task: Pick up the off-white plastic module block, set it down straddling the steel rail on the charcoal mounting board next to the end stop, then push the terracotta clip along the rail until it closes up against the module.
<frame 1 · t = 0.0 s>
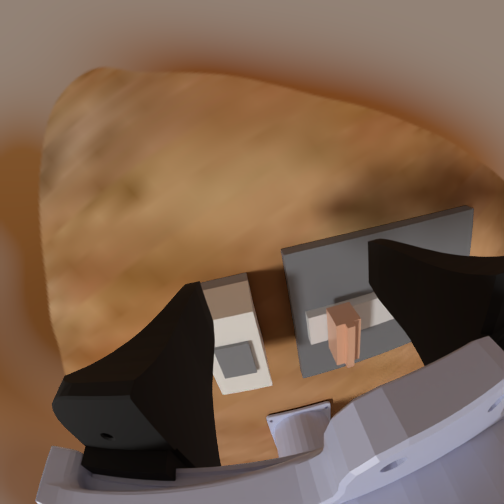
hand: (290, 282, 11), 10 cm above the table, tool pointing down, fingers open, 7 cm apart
module: (232, 314, 24), on the table
rail board: (390, 291, 25), on the table
rail clip: (344, 336, 21), point 4 cm above the table, slide at 0.0 cm
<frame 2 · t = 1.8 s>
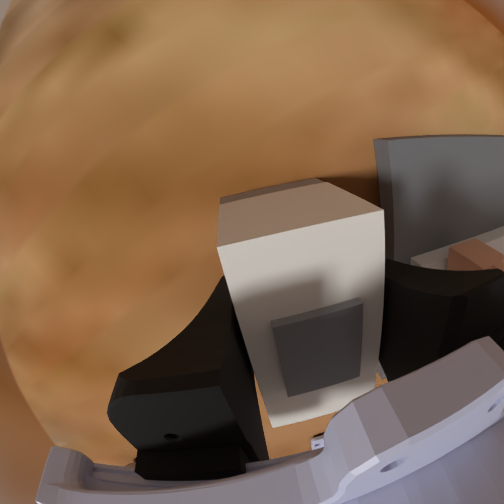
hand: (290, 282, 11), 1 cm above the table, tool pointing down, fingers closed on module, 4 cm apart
module: (283, 267, 13), on the table, touching gripper
rail board: (494, 238, 14), on the table
rail clip: (475, 296, 10), point 4 cm above the table, slide at 0.0 cm
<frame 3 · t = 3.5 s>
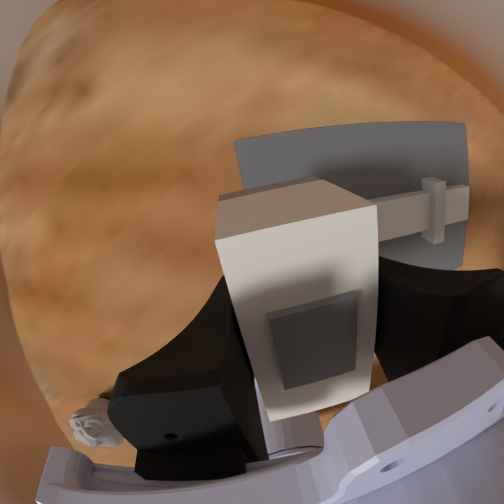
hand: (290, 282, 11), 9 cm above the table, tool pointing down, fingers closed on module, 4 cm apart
grey sculpted head: (106, 400, 27), on the table
module: (281, 264, 13), point 8 cm above the table, touching gripper
rail board: (377, 211, 21), on the table
when the fingers open (4 cm above the table, at t = 5.5 s): module drops 1 cm, resting on rail board.
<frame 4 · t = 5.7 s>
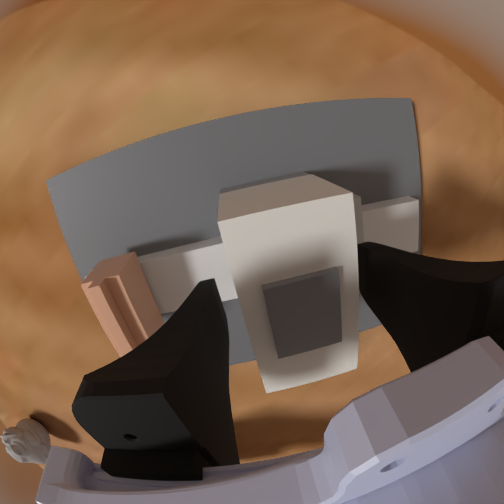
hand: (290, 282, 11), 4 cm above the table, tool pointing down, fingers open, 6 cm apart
grey sculpted head: (37, 420, 22), on the table
module: (276, 251, 14), point 1 cm above the table, touching rail board
rail board: (255, 247, 15), on the table
rail clip: (125, 311, 12), point 4 cm above the table, slide at 0.0 cm
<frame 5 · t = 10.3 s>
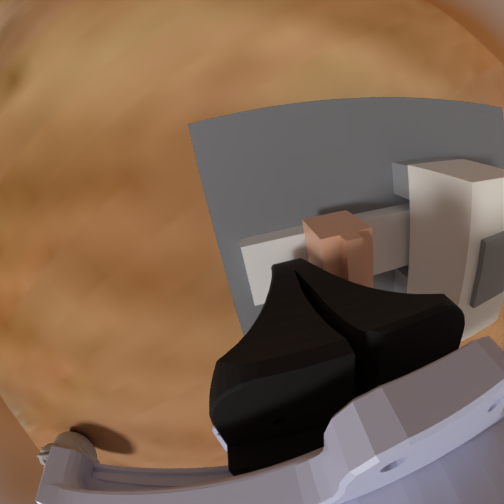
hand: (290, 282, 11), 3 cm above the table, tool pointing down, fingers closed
grey sculpted head: (78, 432, 21), on the table
module: (423, 225, 13), point 1 cm above the table, touching rail board
rail board: (398, 222, 15), on the table
rail clip: (341, 276, 11), point 4 cm above the table, slide at 1.2 cm, touching gripper
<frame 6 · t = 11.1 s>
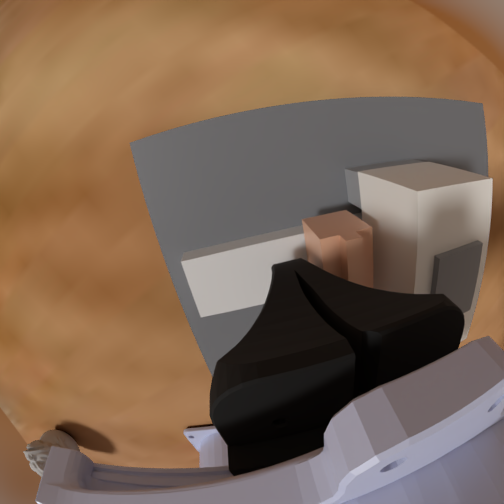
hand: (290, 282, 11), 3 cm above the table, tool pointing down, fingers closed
grey sculpted head: (63, 431, 21), on the table
module: (385, 234, 13), point 1 cm above the table, touching rail board
rail board: (359, 231, 15), on the table
rail clip: (341, 276, 11), point 4 cm above the table, slide at 3.8 cm, touching gripper
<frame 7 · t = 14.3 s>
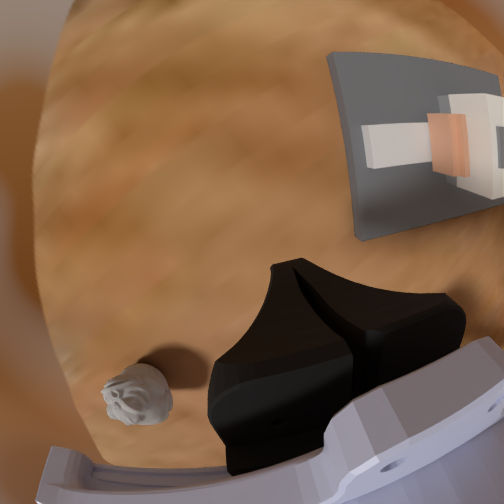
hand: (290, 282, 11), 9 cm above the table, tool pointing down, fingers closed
grey sculpted head: (145, 367, 25), on the table
module: (458, 138, 17), point 1 cm above the table, touching rail board
rail board: (442, 138, 19), on the table
rail clip: (452, 143, 15), point 4 cm above the table, slide at 3.8 cm
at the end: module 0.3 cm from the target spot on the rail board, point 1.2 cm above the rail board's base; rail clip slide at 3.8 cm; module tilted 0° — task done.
